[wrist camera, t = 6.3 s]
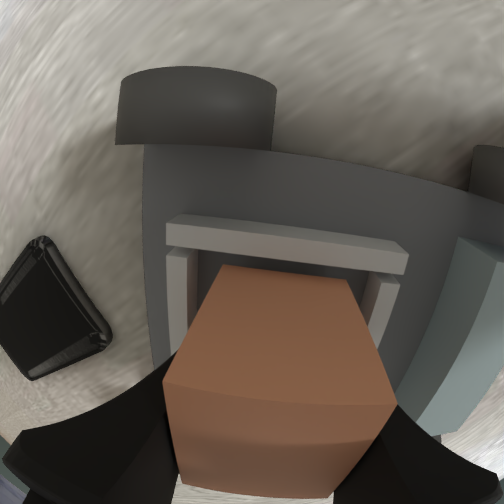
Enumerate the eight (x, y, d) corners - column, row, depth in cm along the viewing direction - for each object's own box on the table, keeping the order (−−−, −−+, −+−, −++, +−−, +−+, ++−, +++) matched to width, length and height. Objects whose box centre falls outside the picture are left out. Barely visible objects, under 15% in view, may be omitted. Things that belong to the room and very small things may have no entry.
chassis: (518, 172, 9) (584, 190, 5) (416, 423, 16) (433, 475, 11) (158, 99, 10) (89, 77, 6) (167, 406, 17) (143, 463, 12)
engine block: (346, 279, 10) (397, 403, 4) (317, 379, 12) (327, 498, 6) (222, 264, 10) (161, 381, 5) (217, 367, 12) (182, 483, 6)
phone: (113, 345, 14) (29, 382, 18) (122, 334, 15) (35, 375, 19) (36, 230, 12) (-20, 313, 16) (49, 224, 14) (-13, 308, 17)
